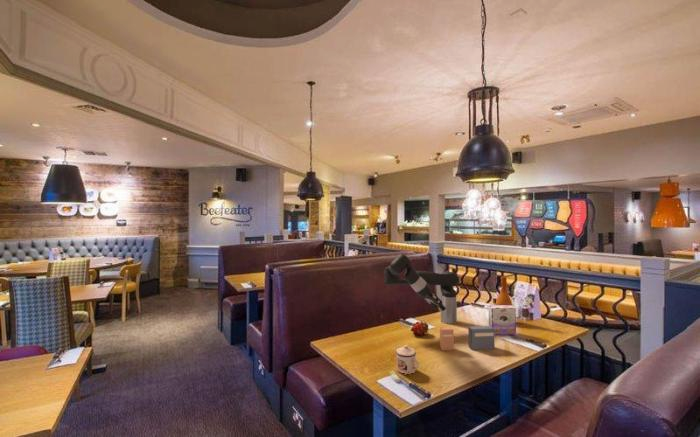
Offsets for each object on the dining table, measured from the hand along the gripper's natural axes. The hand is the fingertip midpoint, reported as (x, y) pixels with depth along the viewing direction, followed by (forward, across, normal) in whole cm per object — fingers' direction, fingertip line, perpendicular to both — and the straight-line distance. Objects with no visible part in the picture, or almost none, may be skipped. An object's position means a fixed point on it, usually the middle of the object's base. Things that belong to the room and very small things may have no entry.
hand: (440, 308), depth 172 cm
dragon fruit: (+12, -25, -14) cm, 31 cm away
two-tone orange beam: (+18, -3, -12) cm, 22 cm away
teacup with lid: (+2, +14, -36) cm, 38 cm away
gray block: (+31, +1, +2) cm, 31 cm away
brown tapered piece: (+52, -30, +34) cm, 69 cm away
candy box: (+44, -14, +21) cm, 51 cm away
